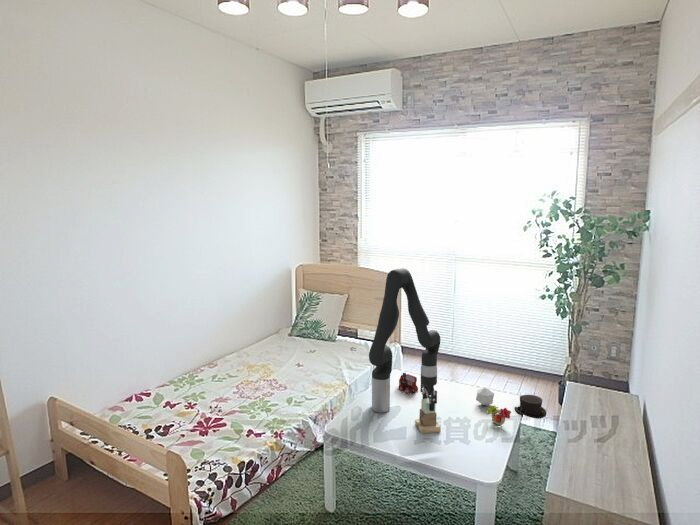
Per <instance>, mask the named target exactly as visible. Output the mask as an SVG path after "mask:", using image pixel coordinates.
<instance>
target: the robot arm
mask: <svg viewBox="0 0 700 525" xmlns="http://www.w3.org/2000/svg"><path fill="white" fill-rule="evenodd" d="M401 289H402V290H403V291H404V293H405V296H406V299H407V310H408V314H409V315H408V316H409V317H410V319H411V321H412V323H413V325H414V328H415V333H416V338H417V341H418V344H420V346H422V348H425V350H424V351H422V353H421V364H420V393H421V395H422V398H421V399H427V398H428V399H429V410H430V411H434V404H438V391H437V390H435V387H434V386H436V385H437V384H438V353H439V350H440V346H441V336H440V335H441V334H440V333H439V332H438V331H437V330H434V329H432V330H428V326H429V324H430V320H429V317H428V316H427V314H426V311H425V310H424V308H423V305H422V303H421V300H420V297H419V294H418V292H417V288H416V286H415V282H414V279H413V277H412V274H411V272H410V271H409V270H408V269H407V268H404V267H403V268H396V269H392V270H390V271H389V272H388V274H387V276H386V280H385V286H384V296H383V300H382V305H381V309H380V313H379V317H378V322H377V326H376V329H375V333H374V337H373V339H372V340H373V341H372V344H371V346H370V349H369V352H368V360H369V363H370V364H371V365H372V366H374V368H373V370H372V371H371V410H372V411H373V412H375V413H380V414H381V413H388V412H389V411H390V408H391V403H390V402H391V374H392V371H393V370H392V369H393V351H392V349H391V347H390V346H388V345H387V342H388V341H389V339H390V337H391V336H392V335H393V333H394V332H395V329H396V328H397V325H398V321H399V318H400V310H399V306H398V300H397V299H398V296H399V295H398V294H399V292H400V290H401Z"/></svg>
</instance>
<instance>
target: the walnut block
mask: <svg viewBox="0 0 700 525" xmlns="http://www.w3.org/2000/svg"><path fill="white" fill-rule="evenodd" d="M437 414H438V413H437V412H436V411H435V413H429V414H425V413H424V412H423V411H422V409H421V408H419V418H418V419H419V421H420V422H421V424H422V425H423V426H424V427H427V426H436V422H437Z"/></svg>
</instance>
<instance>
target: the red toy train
mask: <svg viewBox="0 0 700 525" xmlns="http://www.w3.org/2000/svg"><path fill="white" fill-rule="evenodd" d="M417 381H418V378H417V376H414V375H411V374H409V373H406V372H403V373H402V374H401V375H400V377H399V379H398V387H397V388H398V390H399V391H401V392H404V393H406V394H407V395H411V394H412V393H416V392H418V391H419V387H418V385H417Z"/></svg>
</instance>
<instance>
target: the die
mask: <svg viewBox="0 0 700 525" xmlns="http://www.w3.org/2000/svg"><path fill="white" fill-rule="evenodd" d="M494 397H495V393H494V392H493V391H491V390H490V389H489V388H487V387H483V388H479V389H477V392H476V397H475V401H477V402H478V403H479V404H481V405H483V406H484V405H486V406H489V405H492V404H493V401H494Z"/></svg>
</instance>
